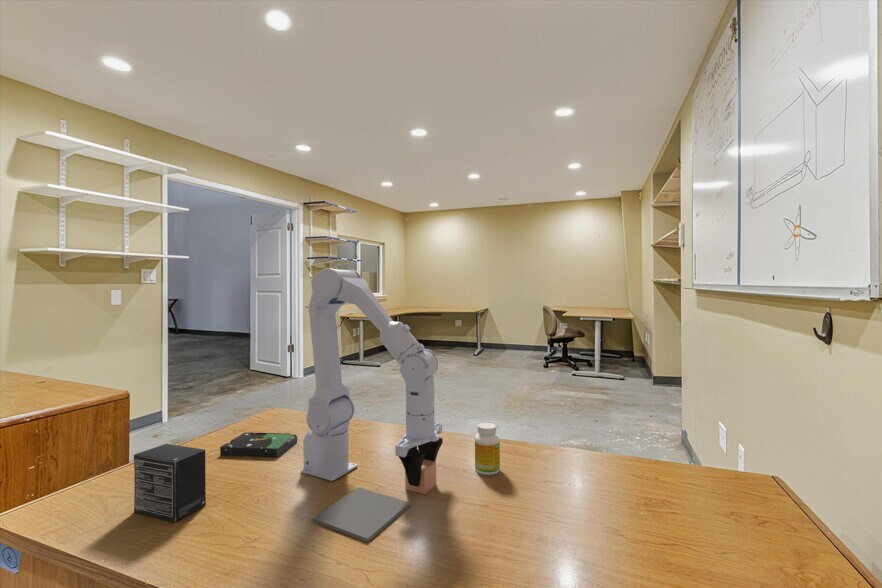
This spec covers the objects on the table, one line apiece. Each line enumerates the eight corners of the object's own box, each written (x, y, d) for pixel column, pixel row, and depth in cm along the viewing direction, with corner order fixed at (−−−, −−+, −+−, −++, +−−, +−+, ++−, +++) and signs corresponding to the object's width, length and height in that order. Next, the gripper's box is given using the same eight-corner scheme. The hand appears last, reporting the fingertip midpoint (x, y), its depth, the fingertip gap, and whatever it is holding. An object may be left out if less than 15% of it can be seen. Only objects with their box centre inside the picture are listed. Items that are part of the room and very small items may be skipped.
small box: (209, 504, 74) (208, 448, 74) (175, 524, 68) (174, 462, 67) (167, 495, 77) (167, 441, 77) (132, 513, 71) (131, 454, 71)
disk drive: (219, 458, 95) (278, 459, 94) (219, 447, 95) (278, 447, 94) (244, 442, 106) (298, 443, 104) (244, 431, 106) (297, 432, 104)
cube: (405, 488, 79) (405, 466, 79) (417, 479, 83) (417, 457, 83) (424, 494, 77) (424, 470, 76) (436, 484, 80) (436, 462, 80)
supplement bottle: (499, 476, 83) (498, 430, 83) (473, 474, 85) (473, 429, 84) (500, 465, 89) (500, 422, 89) (476, 463, 90) (476, 420, 90)
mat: (312, 521, 68) (312, 518, 68) (358, 490, 78) (358, 487, 78) (367, 542, 62) (367, 538, 62) (410, 505, 72) (410, 502, 72)
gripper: (417, 425, 71) (418, 501, 71) (454, 404, 84) (455, 469, 84) (385, 419, 75) (386, 492, 75) (425, 400, 87) (426, 462, 87)
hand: (420, 479), depth 80 cm, fingers closed on cube, 4 cm apart
